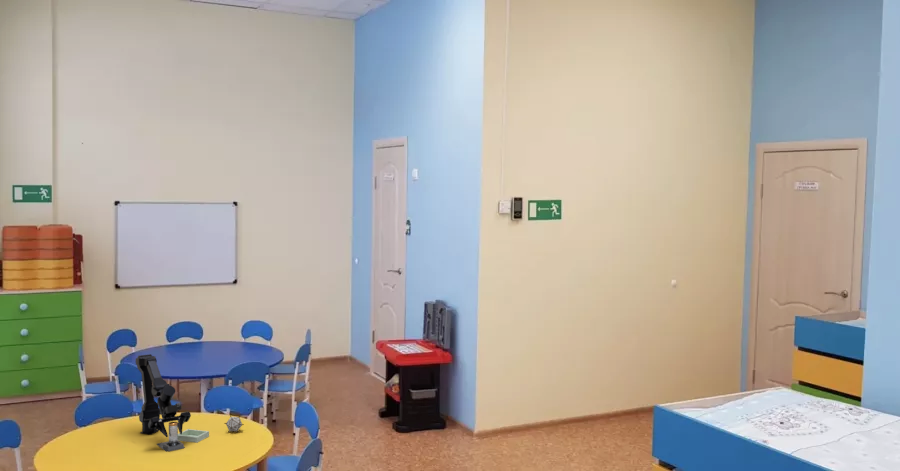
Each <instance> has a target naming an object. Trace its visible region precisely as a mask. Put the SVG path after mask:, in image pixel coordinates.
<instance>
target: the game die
mask: <svg viewBox="0 0 900 471" xmlns="http://www.w3.org/2000/svg"><path fill="white" fill-rule="evenodd" d="M229 416H230V417H229V418H228V420H227V421H226V422H224V424H225V425H226V428H227V429H228V432H227V433H230V432H237V433H239V430H240V429H241V427H242V426H244V424H243V423H242V421H241V418H240V417H241V415H238V416H232V415H229Z"/></svg>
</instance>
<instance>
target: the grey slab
mask: <svg viewBox="0 0 900 471" xmlns="http://www.w3.org/2000/svg"><path fill="white" fill-rule="evenodd" d="M155 445H156V446H158V447H159V448H160V449H162V450H163V451H164V452H173V451H178V450H182V449H186V447H185V444H184V443H182V441H178V445H174V446H169V440H168V441H163V442H159V443H156V444H155Z"/></svg>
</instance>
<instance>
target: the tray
mask: <svg viewBox="0 0 900 471" xmlns="http://www.w3.org/2000/svg"><path fill="white" fill-rule="evenodd" d="M209 437H210V431H209V430H201V429H200V430H198V429H190V428H187V429H185V430H182V434H180V432H178V441H180V442H186V443H187V442H189V443H200V442H201V441H203V440H204V439H207V438H209Z"/></svg>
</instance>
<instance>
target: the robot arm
mask: <svg viewBox="0 0 900 471" xmlns="http://www.w3.org/2000/svg"><path fill="white" fill-rule="evenodd" d="M156 357H157V356H155V355H153V354H150V353H149V354H143V355H138V356H137V357H136V358H135V365H136V368H137V370H138V371H139V372H140V375H141V382H142V390H143V391H142V393H143V404H142V406H141V411H140V413H139V416H138V419H139V422H141V425H142V426H141V431H140V434H141V435H142V434H144V435H152V434H155V433H157V432H160V433H161V434H162V435H163V436H164V437H165V438H169V433H168V432H167V429H166V427H165V426H166V425H165V423H170V422H178V433H180V434H182V432H183V425H184V424H185V423H188V422H189V420H190V419H191V416H192V415H191V412H190V411H188V410H187V411H183V412H180V415H177V414H178V413H177V412H179V411H180V410H182V405H181V402H176V403H175V404H172V400H173V398H174V396H175V393H176V388H175V387H174V386H172V385H170V383H168V382H167V381H166V380H165V379H164V378H162V374H161V372H160V369H159V366H158V363H157V360H158V359H157V358H156ZM155 398H157V400H155ZM156 401H157V402H156ZM160 417H161V418H160Z"/></svg>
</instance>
